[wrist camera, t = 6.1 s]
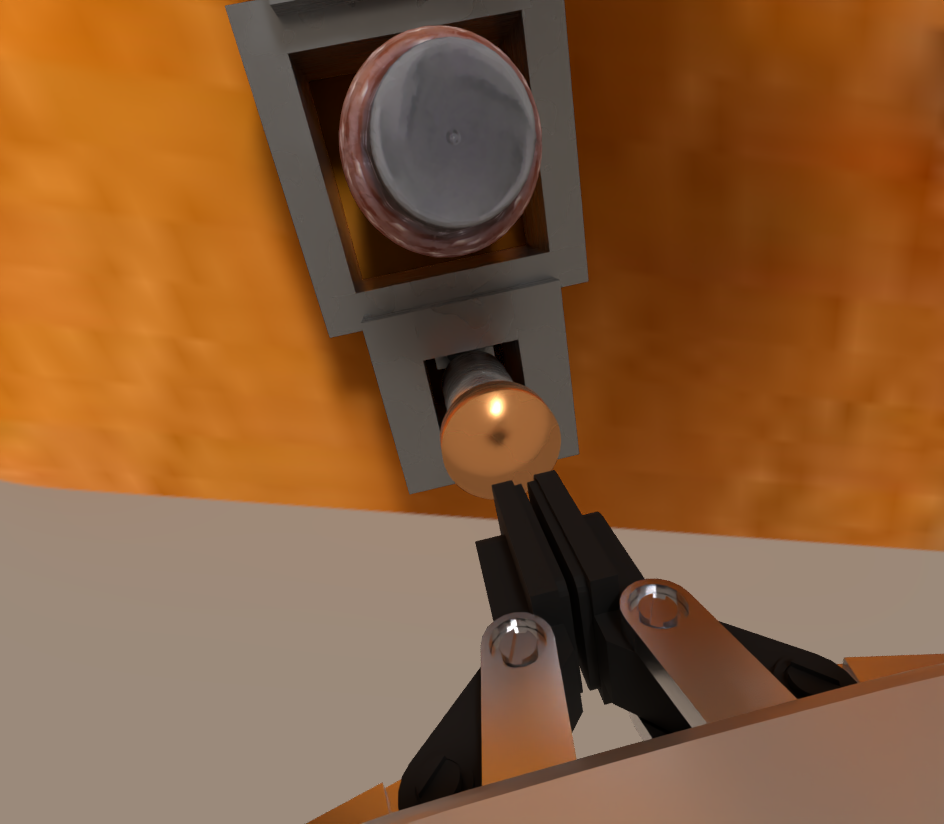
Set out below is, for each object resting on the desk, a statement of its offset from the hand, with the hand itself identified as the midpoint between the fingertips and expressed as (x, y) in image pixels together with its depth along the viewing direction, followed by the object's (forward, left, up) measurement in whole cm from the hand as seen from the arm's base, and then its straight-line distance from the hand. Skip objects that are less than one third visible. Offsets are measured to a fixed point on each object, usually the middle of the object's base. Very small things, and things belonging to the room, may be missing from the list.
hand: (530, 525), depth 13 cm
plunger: (0, 0, -10) cm, 11 cm away
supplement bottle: (-9, 0, -14) cm, 17 cm away
